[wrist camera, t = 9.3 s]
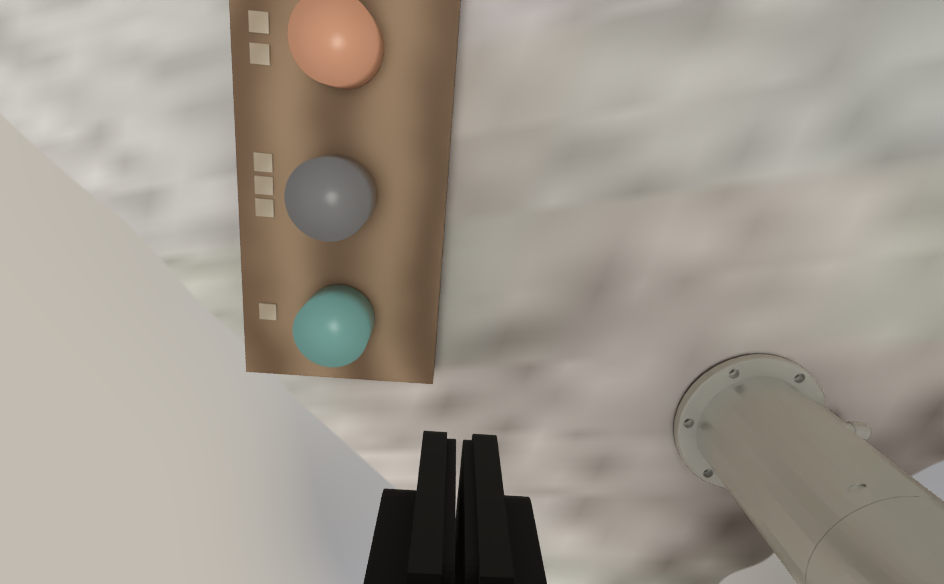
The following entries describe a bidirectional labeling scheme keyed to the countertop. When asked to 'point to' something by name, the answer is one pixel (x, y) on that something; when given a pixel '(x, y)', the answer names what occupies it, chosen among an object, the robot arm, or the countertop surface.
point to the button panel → (378, 150)
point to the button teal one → (334, 326)
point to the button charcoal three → (330, 197)
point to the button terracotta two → (335, 42)
